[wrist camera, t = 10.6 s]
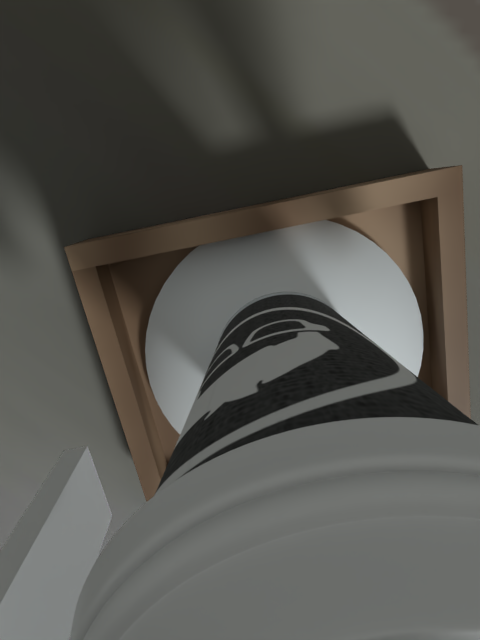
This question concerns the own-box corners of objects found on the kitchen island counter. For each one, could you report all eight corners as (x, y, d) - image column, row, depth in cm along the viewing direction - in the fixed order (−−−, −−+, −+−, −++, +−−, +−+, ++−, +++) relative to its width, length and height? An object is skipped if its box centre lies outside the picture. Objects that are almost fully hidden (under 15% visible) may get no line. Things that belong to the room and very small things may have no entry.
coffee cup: (170, 434, 20) (-7, 1022, 6) (199, 240, 17) (-5, 468, 3) (358, 464, 21) (619, 1078, 6) (417, 280, 18) (1117, 641, 4)
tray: (162, 484, 23) (153, 521, 21) (87, 239, 19) (64, 247, 17) (444, 433, 23) (472, 465, 20) (429, 169, 19) (462, 165, 16)
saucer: (183, 486, 22) (181, 497, 21) (114, 247, 18) (109, 249, 17) (426, 443, 21) (433, 452, 21) (407, 186, 18) (415, 186, 17)
